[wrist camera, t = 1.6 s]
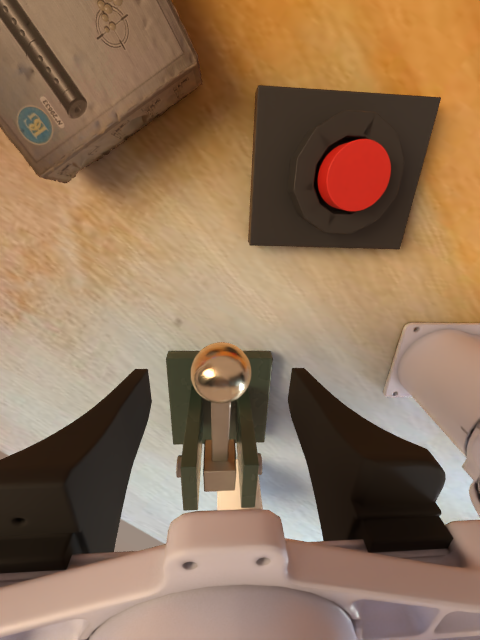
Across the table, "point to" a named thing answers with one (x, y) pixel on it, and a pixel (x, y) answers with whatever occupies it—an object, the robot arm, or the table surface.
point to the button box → (309, 152)
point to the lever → (220, 408)
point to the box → (88, 76)
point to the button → (354, 175)
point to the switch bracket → (196, 423)
